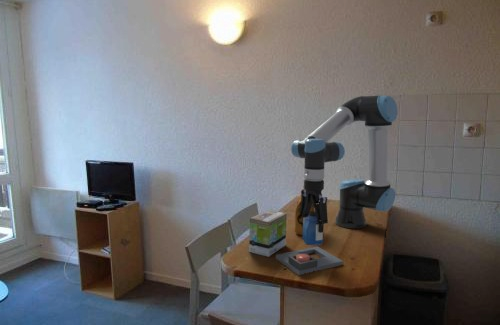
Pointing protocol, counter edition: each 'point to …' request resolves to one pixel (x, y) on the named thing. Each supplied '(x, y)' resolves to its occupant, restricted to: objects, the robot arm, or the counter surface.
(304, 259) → the button
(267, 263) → the counter surface
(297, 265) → the pallet plate
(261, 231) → the tea box
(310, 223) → the perfume bottle
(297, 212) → the coffee package
